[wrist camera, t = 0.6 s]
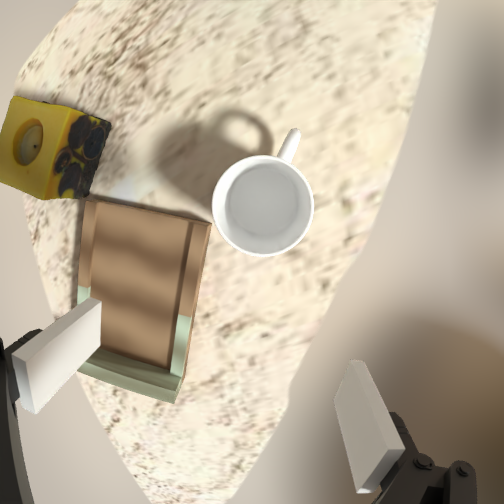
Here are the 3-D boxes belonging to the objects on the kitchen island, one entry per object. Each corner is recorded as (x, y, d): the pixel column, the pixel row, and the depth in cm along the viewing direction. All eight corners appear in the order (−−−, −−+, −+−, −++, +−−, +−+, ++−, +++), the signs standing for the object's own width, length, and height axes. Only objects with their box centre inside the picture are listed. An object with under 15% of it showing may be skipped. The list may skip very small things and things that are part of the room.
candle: (35, 177, 36) (-14, 179, 27) (57, 107, 34) (10, 93, 25) (89, 199, 37) (41, 205, 27) (114, 122, 35) (71, 106, 25)
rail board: (97, 199, 37) (71, 202, 31) (211, 223, 37) (201, 230, 31) (86, 347, 41) (66, 366, 35) (184, 378, 41) (173, 403, 35)
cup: (214, 220, 37) (196, 232, 27) (258, 123, 34) (255, 99, 24) (282, 250, 37) (287, 272, 27) (326, 153, 35) (348, 141, 25)
